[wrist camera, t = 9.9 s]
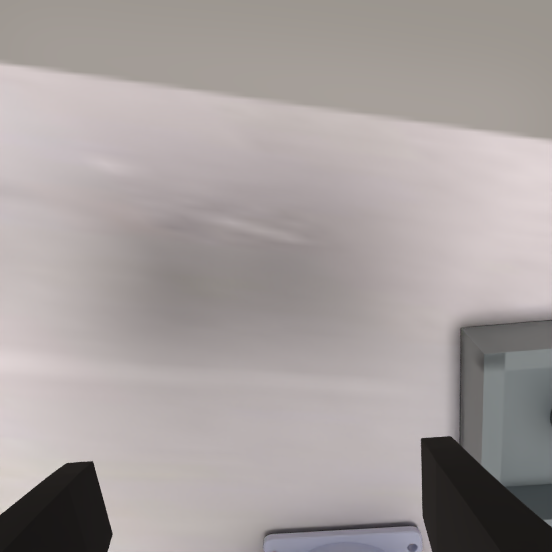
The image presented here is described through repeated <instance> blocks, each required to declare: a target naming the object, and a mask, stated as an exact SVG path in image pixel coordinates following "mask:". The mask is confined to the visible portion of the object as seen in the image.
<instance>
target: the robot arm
mask: <svg viewBox="0 0 552 552" xmlns="http://www.w3.org/2000/svg"><path fill="white" fill-rule="evenodd" d="M421 461H422V510H423V519H424V523H425V527H426V530H427V534H428V538H429V541H430V545H431V549H432V552H552V527H551V526H550V525H548V524H547V523H546V522H545V521H544V520H542V519H541V518H540V517H539V516H538V515H537V514H535V513H534V512H533V511H532V510H531V509H530V508H529V507H527V506H526V505H525V504H524V503H523V502H522V501H520V500H519V499H518V498H517V497H516V496H515V495H514V494H512V493H511V492H510V491H509V490H508V489H507V488H506V487H505V486H503V485H502V484H501V483H500V482H499V481H498V480H497V479H496V478H495V477H494V476H493V475H491V474H490V473H489V472H488V471H487V470H486V469H485V468H484V467H483V466H482V465H481V464H480V463H479V462H478V461H476V460H475V459H474V458H473V457H472V456H471V455H470V454H469V453H468V452H467V451H466V450H465V449H464V448H463V447H462V446H461V445H460V444H459V443H457V442H456V441H455V440H454V439H453V438H452V437H451V436H447V437H433V438H421ZM112 535H113V534H112V530H111V526H110V522H109V519H108V515H107V511H106V508H105V504H104V500H103V497H102V493H101V489H100V486H99V482H98V478H97V474H96V471H95V467H94V463H93V461H90V462H76V463H66V464H65V465H63V466H62V467H61V468H59V469H58V470H56V471H55V472H54V473H52V474H51V475H50V476H48V477H47V478H46V479H45V480H43V481H42V482H41V483H40V484H38V485H37V486H36V487H35V488H33V489H32V490H31V491H30V492H28V493H27V494H26V495H25V496H23V497H22V498H21V499H20V500H18V501H17V502H16V503H15V504H13V505H12V506H11V507H10V508H8V509H7V510H6V511H5V512H3V513H2V514H1V515H0V552H108V548H109V545H110V541H111V538H112ZM409 544H413V545H409ZM263 549H264V552H272V551H276V552H422V536H421V533H420V530H419V529H418V528H416V527H414V526H404V527H386V528H369V529H351V530H334V531H316V532H299V533H282V534H270V535H268V536H266V537H265V538H264V544H263Z"/></svg>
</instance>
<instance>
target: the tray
mask: <svg viewBox="0 0 552 552" xmlns="http://www.w3.org/2000/svg"><path fill="white" fill-rule="evenodd" d="M551 410H552V320H549V321H537V322H525V323H514V324H502V325H490V326H478V327H467V328H461V376H460V445H461V446H462V447H463V448H464V449H465V450H466V451H467V452H468V453H469V454H470V455H471V456H472V457H473V458H474V459H475V460H476V461H478V462H479V463H480V464H481V465H482V466H483V467H484V468H485V469H486V470H487V471H488V472H489V473H490V474H491V475H493V476H494V477H495V478H496V479H497V480H498V481H499V482H500V483H501V484H502V485H503V486H505V487H506V488H507V489H508V490H509V491H510V492H511V493H512V494H514V495H515V496H516V497H517V498H518V499H519V500H520V501H522V502H523V503H524V504H525V505H526V506H527V507H529V508H530V509H531V510H532V511H533V512H534V513H535V514H537V515H538V516H539V517H540V518H541V519H542V520H544V521H545V522H546V523H547V524H548V525H550V526H551V527H552V425H551V423H550V413H551Z"/></svg>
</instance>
